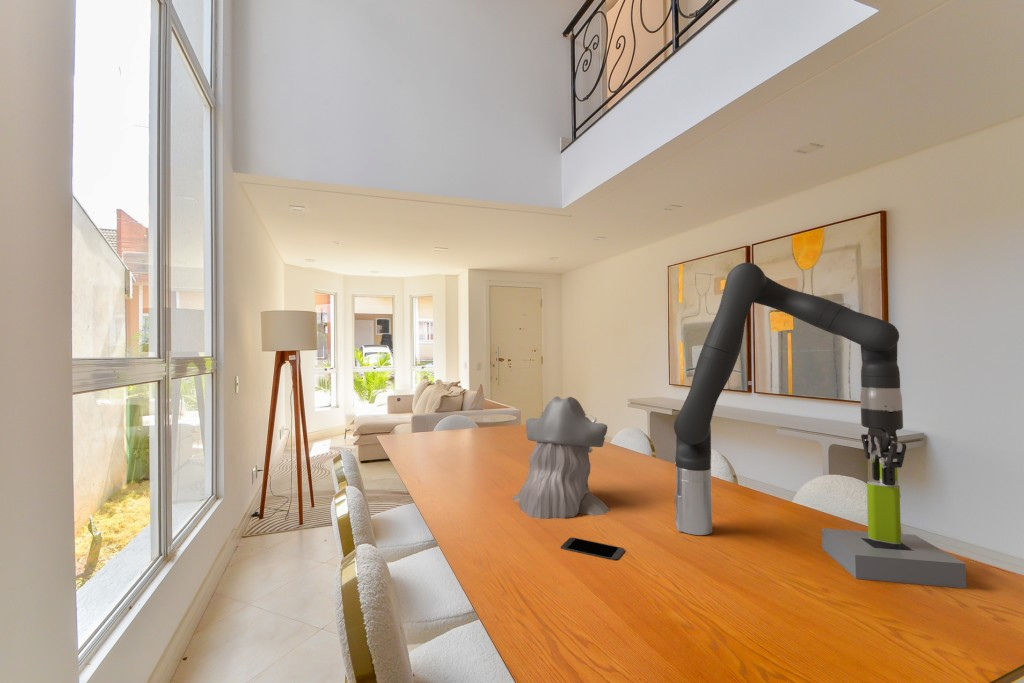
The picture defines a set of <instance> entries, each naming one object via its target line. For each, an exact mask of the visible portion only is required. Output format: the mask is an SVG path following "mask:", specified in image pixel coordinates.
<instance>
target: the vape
mask: <svg viewBox="0 0 1024 683" xmlns="http://www.w3.org/2000/svg"><path fill="white" fill-rule="evenodd" d="M884 454H888V453H884ZM879 462H880V481H876V480H868V481H866V497H867V498H866V501H867V504H866V505H867V532H868V537H869V538H870V539H872V540H876V541H882V542H887V543H893V544H901V534H902V530H901V525H902V524H901V497H902V496H901V491H900V490H901V489H900V485H899V478H898V468H896V469H895V485H885V484H883V483H882V468H883V467H882V464H881V459H879ZM886 462H887V458H886ZM896 462H897V459H896Z"/></svg>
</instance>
